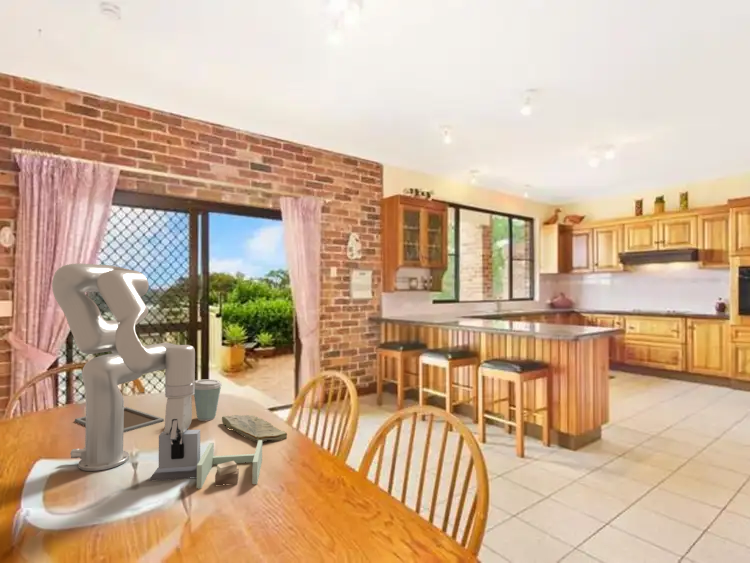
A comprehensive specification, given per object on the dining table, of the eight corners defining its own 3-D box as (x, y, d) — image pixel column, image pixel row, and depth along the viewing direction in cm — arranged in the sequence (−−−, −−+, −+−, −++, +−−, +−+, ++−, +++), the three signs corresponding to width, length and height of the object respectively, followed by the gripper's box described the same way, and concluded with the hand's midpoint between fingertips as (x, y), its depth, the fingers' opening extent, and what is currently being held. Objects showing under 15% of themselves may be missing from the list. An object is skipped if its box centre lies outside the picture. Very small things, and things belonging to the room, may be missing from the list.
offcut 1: (220, 475, 111) (220, 468, 111) (216, 472, 113) (217, 464, 113) (236, 471, 114) (236, 463, 114) (233, 467, 116) (233, 460, 116)
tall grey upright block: (158, 468, 116) (158, 435, 116) (162, 463, 119) (162, 431, 119) (197, 466, 117) (197, 433, 117) (200, 460, 121) (200, 429, 121)
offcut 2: (215, 486, 111) (215, 475, 111) (216, 481, 114) (216, 470, 114) (237, 485, 112) (237, 473, 112) (238, 479, 116) (238, 468, 116)
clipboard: (111, 433, 146) (71, 417, 162) (111, 437, 146) (71, 421, 162) (164, 418, 162) (123, 405, 178) (164, 422, 162) (123, 409, 178)
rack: (196, 488, 110) (196, 465, 110) (209, 463, 125) (209, 442, 125) (257, 484, 112) (257, 461, 112) (262, 459, 128) (262, 440, 128)
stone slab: (247, 410, 168) (289, 426, 147) (247, 421, 168) (289, 438, 147) (217, 416, 160) (257, 434, 138) (217, 427, 160) (257, 447, 138)
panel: (149, 480, 114) (149, 478, 114) (157, 469, 121) (158, 467, 121) (200, 477, 116) (200, 475, 116) (206, 466, 123) (206, 464, 123)
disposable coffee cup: (211, 412, 173) (211, 376, 174) (226, 417, 167) (227, 380, 167) (186, 419, 165) (187, 380, 165) (202, 425, 159) (202, 384, 159)
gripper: (174, 383, 126) (173, 445, 126) (155, 398, 110) (155, 469, 109) (201, 382, 127) (200, 443, 127) (186, 396, 111) (186, 467, 111)
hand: (179, 454), depth 118 cm, fingers closed on tall grey upright block, 3 cm apart
